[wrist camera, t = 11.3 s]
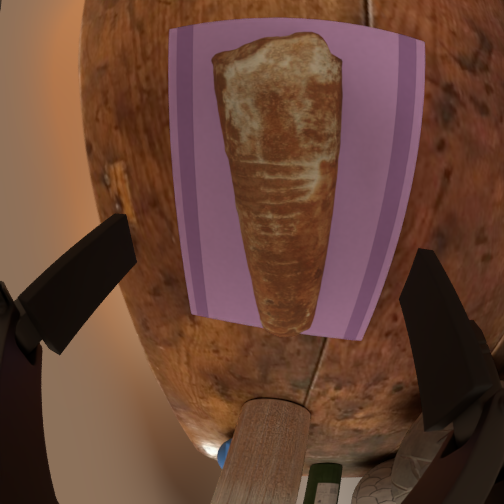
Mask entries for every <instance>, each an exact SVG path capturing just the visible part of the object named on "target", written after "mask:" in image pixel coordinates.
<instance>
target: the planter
mask: <svg viewBox="0 0 504 504" xmlns="http://www.w3.org/2000/svg"><path fill="white" fill-rule="evenodd" d="M310 419H311V415H310V413H309V412H308V411H307V410H306V409H305V408H303V407H302V406H300V405H297V404H295V403H292V402H288V401H284V400H278V399H255V400H251V401H248V402H246V403H245V404H244V405H243V407H242V409H241V412H240V415H239V418H238V421H237V425H236V428H235V431H234V434H233V437H232V441H231V444H230V447H229V450H228V453H227V456H226V459H225V462H224V465H223V469H222V472H221V475H220V478H219V480H218V483H217V486H216V489H215V492H214V495H213V498H212V501H211V504H296V500H297V496H298V491H299V486H300V482H301V476H302V471H303V466H304V460H305V454H306V448H307V442H308V436H309V429H310Z"/></svg>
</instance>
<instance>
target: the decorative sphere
mask: <svg viewBox="0 0 504 504" xmlns="http://www.w3.org/2000/svg"><path fill="white" fill-rule="evenodd" d="M394 460H395V458H393V459H390V460H387V461H385V462H383V463H381V464H379V465H377V466H375V467H374V468H372V469H371V470H370V471H369V472H368V473H366V474H365V475H364V477H363V478H362V479H361V480H360V481H359V483H358V485H357V486H356V488H355V490H354V493H353V496H352V502H351V504H396V502H395V499H394V498H393V493H392V487H391V474H392V468H393V464H394Z"/></svg>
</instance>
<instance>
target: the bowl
mask: <svg viewBox="0 0 504 504" xmlns="http://www.w3.org/2000/svg"><path fill="white" fill-rule="evenodd" d="M500 382H501V385H502V387H503V388H504V381H503V380H500ZM452 430H453V422H452V423H450V424H449V425H448V426H447V427H445V428H444V429H443V430H438V431H430V432H424V424H423V414H422V413H421V414H420V415H419V417H418V418H417V419H416V421H415V422H414V423H413V425H412V426H411V427H410V429H409V430H408V432H407V433H406V436H405V437H404V439H403V441H402V443H401V445H400V447H399V450H398V452H397V454H396V457H395V460H394V464H393V468H392V474H391V487H392V493H393V498H394V499H395V502H396V504H401V502H402V501H403V500H404V499H405V498H406V496H407V495H408V494H409V493H410V491H411V490H412V489H413V487H414V486H415V485H416V484H417V482H418V481H419V479H420V478H421V477H422V475H423V474H424V472H425V471H426V470H427V468H428V467H429V465H430V464H431V462H432V461H433V459H434V457H435V456H436V454H437V453H438V451H439V449H440V448H441V446H442V444H443V443H444V441H445V440H444V441H443V442H441V443H440V444H436V443H437V442H438V440H439V439H441V438H442V437H443V436H445V435H446V434H447V433H449V432H450V431H452Z"/></svg>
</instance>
